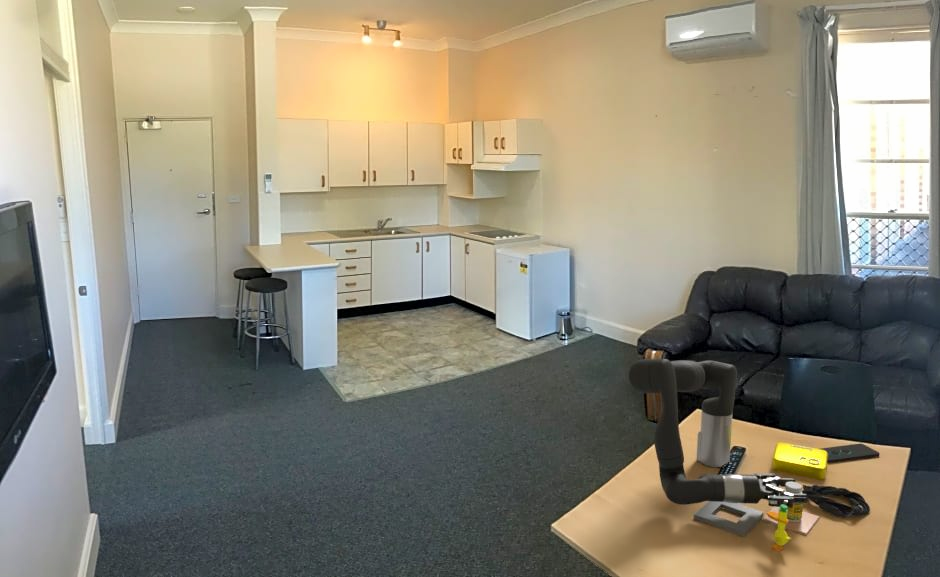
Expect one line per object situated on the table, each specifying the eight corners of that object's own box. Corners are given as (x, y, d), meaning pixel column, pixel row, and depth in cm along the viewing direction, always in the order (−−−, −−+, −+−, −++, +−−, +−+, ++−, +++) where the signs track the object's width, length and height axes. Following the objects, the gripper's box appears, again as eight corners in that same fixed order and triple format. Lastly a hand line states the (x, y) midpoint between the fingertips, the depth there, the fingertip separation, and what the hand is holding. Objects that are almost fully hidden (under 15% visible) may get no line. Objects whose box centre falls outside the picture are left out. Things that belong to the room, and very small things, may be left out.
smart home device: (809, 449, 221) (861, 442, 225) (809, 454, 221) (860, 447, 226) (828, 460, 213) (881, 453, 217) (827, 465, 213) (880, 458, 218)
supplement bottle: (787, 510, 185) (790, 478, 183) (805, 518, 180) (809, 486, 178) (775, 516, 182) (778, 483, 180) (794, 525, 177) (797, 491, 176)
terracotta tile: (762, 520, 181) (762, 518, 181) (777, 504, 189) (777, 502, 189) (806, 535, 174) (806, 533, 174) (819, 518, 182) (819, 516, 181)
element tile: (827, 462, 215) (828, 448, 214) (824, 482, 202) (826, 467, 201) (776, 453, 222) (777, 439, 221) (771, 471, 210) (772, 457, 209)
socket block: (693, 518, 183) (694, 514, 182) (714, 499, 192) (714, 495, 192) (743, 536, 173) (744, 532, 173) (763, 516, 183) (763, 512, 183)
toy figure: (760, 544, 170) (763, 501, 168) (767, 539, 172) (771, 496, 170) (786, 556, 165) (790, 512, 162) (793, 551, 167) (797, 507, 164)
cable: (790, 497, 193) (791, 483, 192) (819, 485, 200) (820, 471, 199) (848, 525, 179) (850, 510, 178) (878, 510, 186) (879, 496, 185)
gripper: (747, 488, 173) (813, 490, 172) (731, 463, 187) (791, 465, 186) (746, 515, 175) (810, 517, 173) (730, 488, 189) (789, 490, 187)
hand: (800, 490), depth 179 cm, fingers open, 8 cm apart
